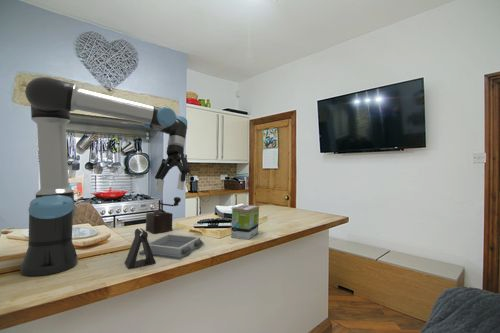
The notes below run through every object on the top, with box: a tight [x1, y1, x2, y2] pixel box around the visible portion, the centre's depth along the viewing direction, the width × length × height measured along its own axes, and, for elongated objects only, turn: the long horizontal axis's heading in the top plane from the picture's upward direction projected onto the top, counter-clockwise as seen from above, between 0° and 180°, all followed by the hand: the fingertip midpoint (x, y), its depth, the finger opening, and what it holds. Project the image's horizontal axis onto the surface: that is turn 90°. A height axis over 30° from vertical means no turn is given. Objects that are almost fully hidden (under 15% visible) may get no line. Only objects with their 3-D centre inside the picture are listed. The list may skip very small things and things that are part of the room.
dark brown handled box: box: [145, 196, 182, 235], centre depth 140 cm, size 16×11×18 cm
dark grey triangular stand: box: [124, 227, 157, 270], centre depth 91 cm, size 9×6×12 cm, turn 126°
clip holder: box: [138, 233, 204, 260], centre depth 107 cm, size 19×20×4 cm
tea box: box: [230, 204, 260, 240], centre depth 133 cm, size 15×10×15 cm, turn 161°
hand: (169, 191), depth 110 cm, fingers open, 13 cm apart
